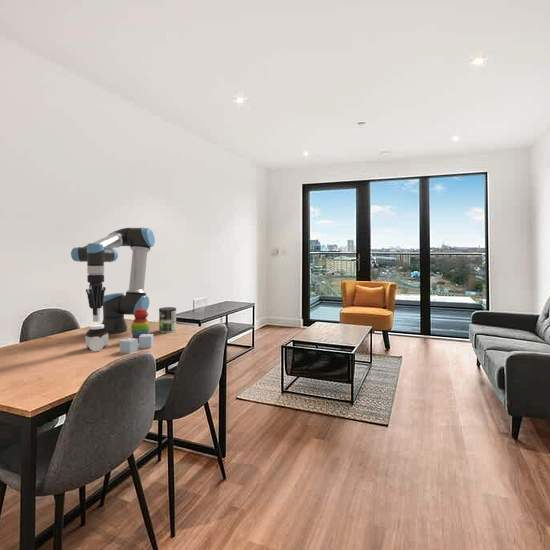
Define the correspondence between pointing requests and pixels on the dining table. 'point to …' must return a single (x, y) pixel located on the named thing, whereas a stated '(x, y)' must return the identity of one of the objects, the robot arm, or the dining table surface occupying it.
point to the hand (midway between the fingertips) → (96, 321)
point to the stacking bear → (140, 323)
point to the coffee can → (167, 319)
